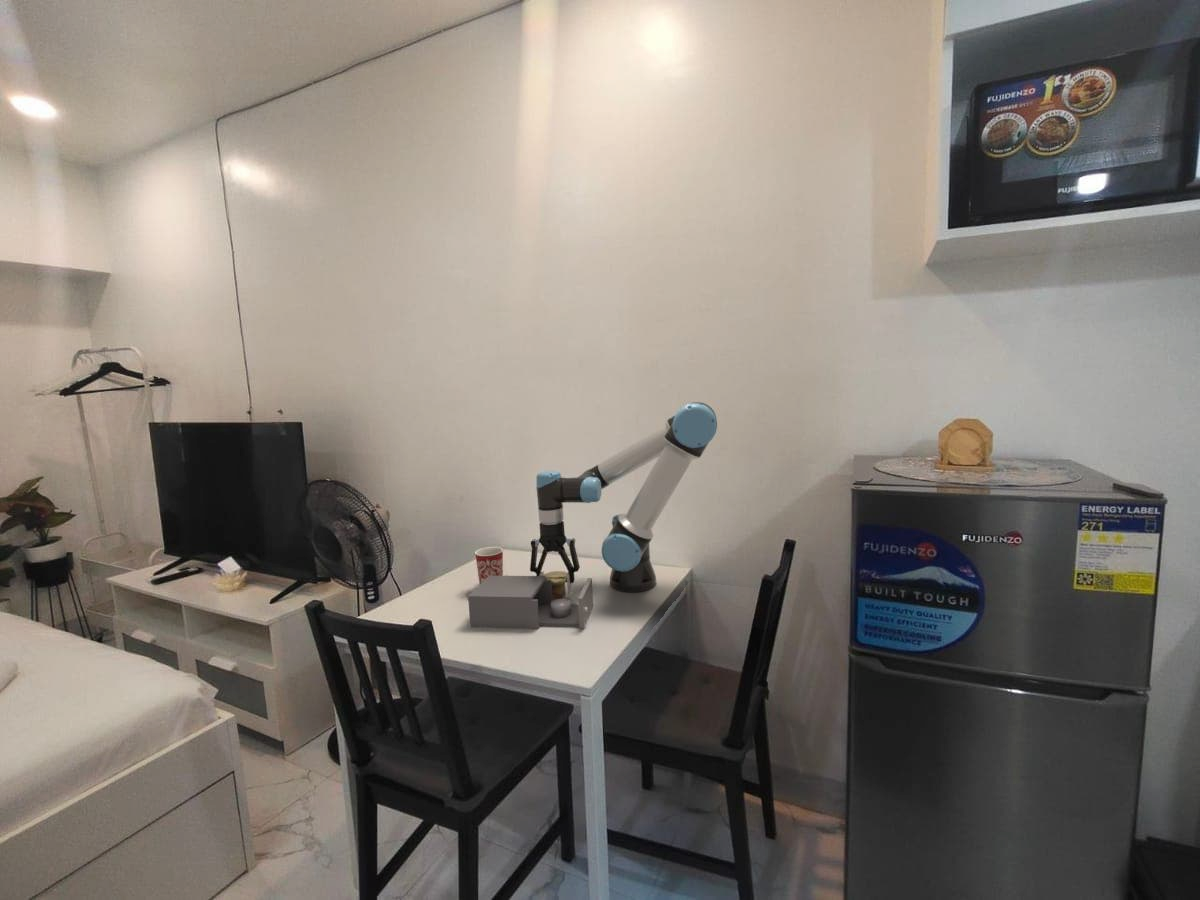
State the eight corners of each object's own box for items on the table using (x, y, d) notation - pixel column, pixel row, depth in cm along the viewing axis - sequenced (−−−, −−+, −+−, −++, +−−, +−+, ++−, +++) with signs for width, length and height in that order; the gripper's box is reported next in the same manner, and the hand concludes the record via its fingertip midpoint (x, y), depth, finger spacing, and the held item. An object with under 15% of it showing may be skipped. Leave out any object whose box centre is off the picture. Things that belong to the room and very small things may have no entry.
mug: (505, 594, 170) (502, 553, 169) (476, 597, 169) (473, 556, 168) (507, 580, 183) (504, 542, 181) (480, 583, 182) (477, 544, 180)
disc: (570, 575, 169) (570, 571, 169) (565, 585, 161) (565, 580, 161) (546, 575, 170) (546, 571, 170) (539, 585, 162) (539, 580, 162)
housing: (552, 604, 160) (551, 576, 159) (538, 629, 145) (536, 597, 144) (491, 603, 164) (488, 575, 163) (470, 627, 148) (468, 596, 147)
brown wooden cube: (565, 594, 168) (564, 578, 168) (561, 600, 164) (561, 584, 163) (550, 593, 169) (549, 578, 169) (546, 600, 164) (545, 584, 164)
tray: (595, 605, 158) (594, 578, 157) (586, 628, 143) (584, 598, 142) (529, 604, 161) (527, 577, 160) (513, 626, 146) (511, 597, 145)
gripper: (586, 517, 166) (591, 588, 168) (522, 519, 169) (527, 588, 172) (582, 524, 158) (587, 597, 161) (515, 525, 162) (520, 597, 164)
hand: (556, 592), depth 166 cm, fingers closed on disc, 8 cm apart
